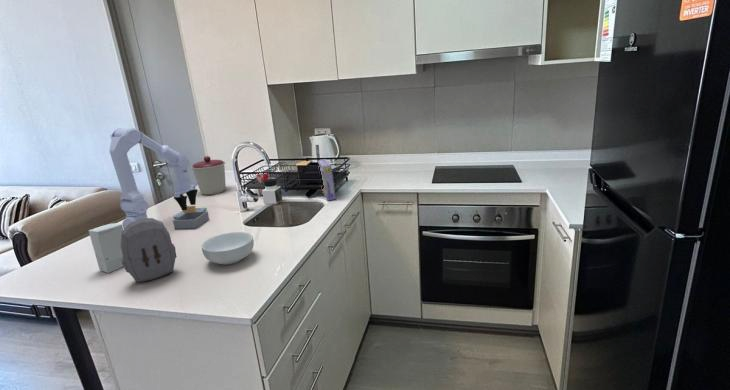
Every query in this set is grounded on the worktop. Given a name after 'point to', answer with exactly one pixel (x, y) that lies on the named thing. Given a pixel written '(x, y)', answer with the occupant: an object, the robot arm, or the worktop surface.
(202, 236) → the worktop surface
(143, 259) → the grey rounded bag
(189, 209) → the lid
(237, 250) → the cereal bowl
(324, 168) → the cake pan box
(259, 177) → the soda can
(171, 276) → the worktop surface
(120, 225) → the skincare box
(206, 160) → the canister
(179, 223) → the tub
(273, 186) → the medicine bottle
